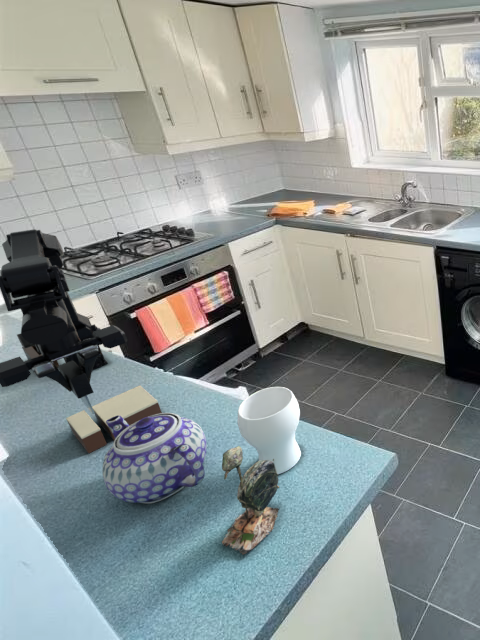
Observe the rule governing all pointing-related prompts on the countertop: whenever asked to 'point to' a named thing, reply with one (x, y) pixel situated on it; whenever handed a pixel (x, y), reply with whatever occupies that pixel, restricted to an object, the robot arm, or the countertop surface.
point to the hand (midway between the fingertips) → (79, 387)
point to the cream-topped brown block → (86, 431)
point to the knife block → (35, 354)
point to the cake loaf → (127, 407)
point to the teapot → (154, 457)
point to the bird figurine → (251, 501)
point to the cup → (271, 426)
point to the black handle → (77, 382)
